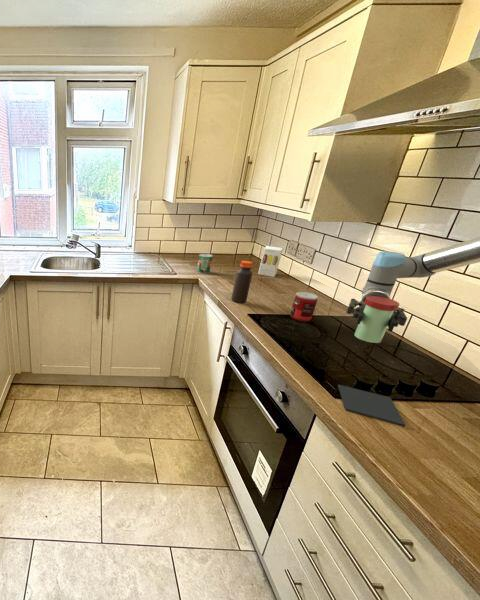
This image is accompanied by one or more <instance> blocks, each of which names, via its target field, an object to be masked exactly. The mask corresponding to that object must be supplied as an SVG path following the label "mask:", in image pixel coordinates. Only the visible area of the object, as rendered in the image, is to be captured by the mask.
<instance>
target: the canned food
mask: <svg viewBox="0 0 480 600" xmlns="http://www.w3.org/2000/svg"><path fill="white" fill-rule="evenodd" d="M318 300H319V296H318V295H317V294H315V293H311V292H307V291H297V292H296V293H295V297H294V300H293V303H292V307H291V310H290V314H289V315H290V318H292V319H293V320H295V321H299V322H303V323H305V322H307V323H308V322H311V320H312V318H313V315H314V312H315V309H316V306H317V303H318Z"/></svg>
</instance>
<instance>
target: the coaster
mask: <svg viewBox="0 0 480 600" xmlns="http://www.w3.org/2000/svg"><path fill="white" fill-rule="evenodd" d="M337 388H338V391H339V394H340V397H341V400H342V404H343V407H344V410H345V411H346V412H351V413H353V414H357V415H362V416H364V417H368V418H371V419H376V420H379V421H383V422H387V423H389V424H394V425H397V426H401V427H405V426H406V424H405V422H404V419H403V418H402V416H401V413H400V412H399V410H398V409H397V407H396V404H395V402H394V401H393V400H392V397H390V396H387V395H382V394H378V393H375V392H370V391H366V390H362V389H359V388H354V387H350V386H346V385H342V384H337Z"/></svg>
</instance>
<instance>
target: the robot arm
mask: <svg viewBox="0 0 480 600" xmlns="http://www.w3.org/2000/svg"><path fill="white" fill-rule="evenodd" d="M478 263H480V236H478V237H474V238H471V239H468V240H465V241H461V242H457V243H455V244H451V245H449V246H445V247H441V248H438V249H435V250H432V251H429V252H425V253H422V254H419V255H415V256H406V255H405V254H404V253H402V252H397V251H387V250H386V251H385V250H384V251H380V252H377V254H376V256H375V258H374V260H373V262H372V265H371V268H370V272H369V274H368V277H367V279H366V281H365V284H364V286H363V288H362V290H361V300H360V301H359V300H358V299H355V298H351V299H350V301H349V303H348V307H347V310H346V314H348V315H351V314H352V318H353V319H356V325H358V324H360V322H361V319H362V317H363V310H364V308H365V305H366V304H365V303H364V301H365V299H366V297H368V296H378V297H384V298H388V299H391V294H392V292H393V290H394V287H395V284H396V282H397V279H412V278H413V279H415V278H417V279H421V278H427V277H432V276H434V275H436V274H437V273H440V272H445V271H449V270H453V269H457V268H461V267H465V266H469V265H473V264H478ZM405 310H406V309H405V308H402V307H398V309H397V310H396V311H394V313H393V315H392V317H391V320H390V322H389V324H388V327H387V330H388V332H391V333H392V332H393V330H394V328H398V326H402V327H404V326H405V324H406V323H407V320H408V317H407V315H406V313H405Z"/></svg>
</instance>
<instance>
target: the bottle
mask: <svg viewBox="0 0 480 600" xmlns="http://www.w3.org/2000/svg"><path fill="white" fill-rule="evenodd" d="M253 263H254V262H252V261H250V260H241V261H240V266H239V267H240V268H239V269H238V270H236V274H235V278H234V283H233V289H232V294H231V301H232V302H234V303H236V304H245V303H247V301H248V296H249V292H250V291H249V290H250V286H251V282H252V278H253V271H252V270H251V269H252V268H253Z"/></svg>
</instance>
